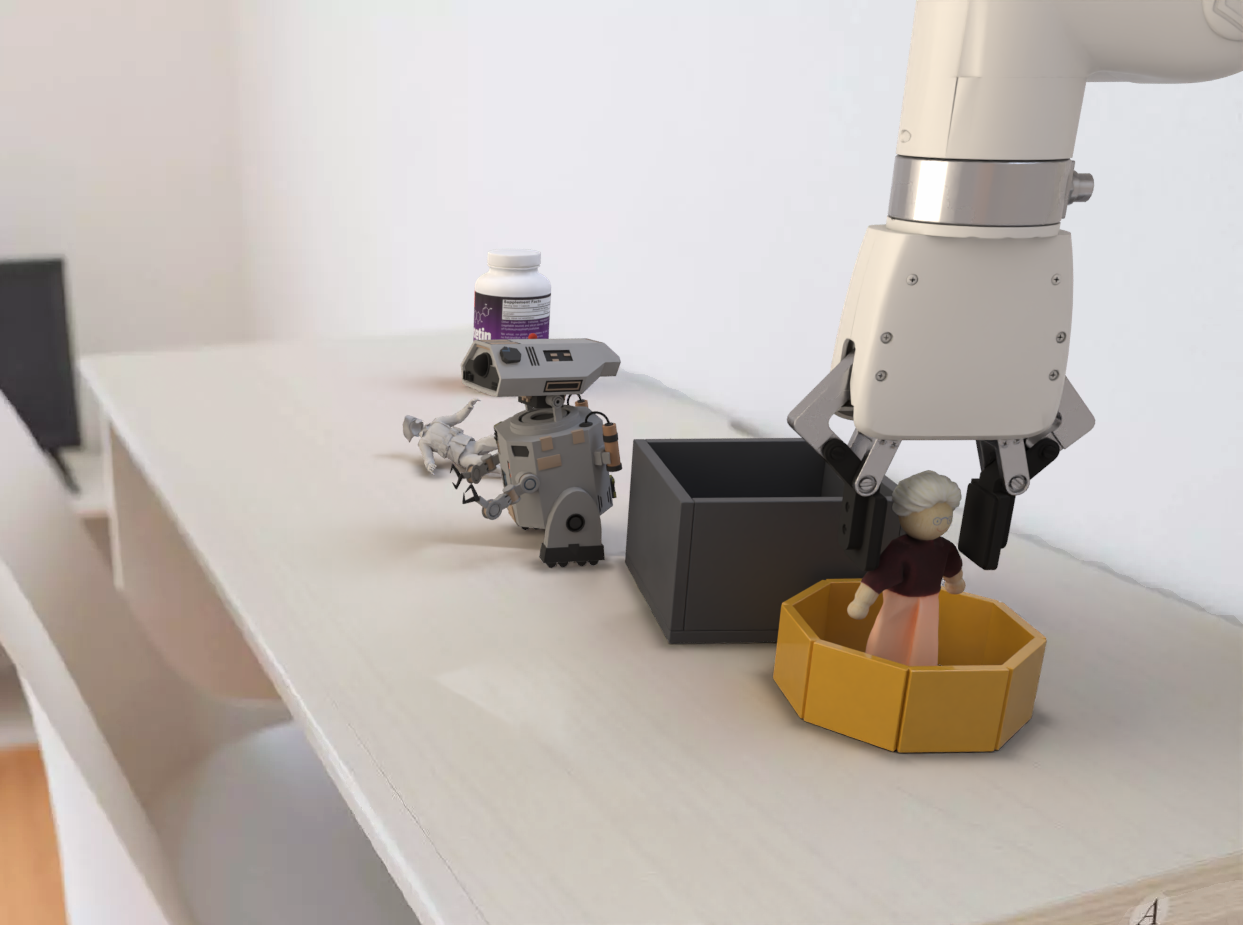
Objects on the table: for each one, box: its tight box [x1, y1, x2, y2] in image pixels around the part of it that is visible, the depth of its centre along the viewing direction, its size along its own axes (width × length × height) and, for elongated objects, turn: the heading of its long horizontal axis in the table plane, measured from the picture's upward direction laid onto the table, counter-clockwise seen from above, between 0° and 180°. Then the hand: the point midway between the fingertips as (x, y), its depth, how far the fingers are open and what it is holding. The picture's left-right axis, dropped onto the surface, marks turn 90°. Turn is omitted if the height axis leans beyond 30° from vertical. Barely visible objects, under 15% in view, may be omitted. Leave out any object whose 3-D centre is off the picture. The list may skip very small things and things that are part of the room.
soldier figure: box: [402, 397, 502, 476], centre depth 109 cm, size 8×5×12 cm
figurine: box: [449, 333, 623, 569], centre depth 88 cm, size 9×12×15 cm
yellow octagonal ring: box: [772, 579, 1048, 754], centre depth 68 cm, size 12×12×4 cm
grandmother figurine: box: [847, 469, 967, 666], centre depth 67 cm, size 8×4×13 cm, turn 127°
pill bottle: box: [472, 248, 552, 342], centre depth 135 cm, size 8×8×14 cm
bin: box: [624, 437, 906, 645], centre depth 80 cm, size 14×14×9 cm
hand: (918, 558), depth 66 cm, fingers closed on grandmother figurine, 5 cm apart
